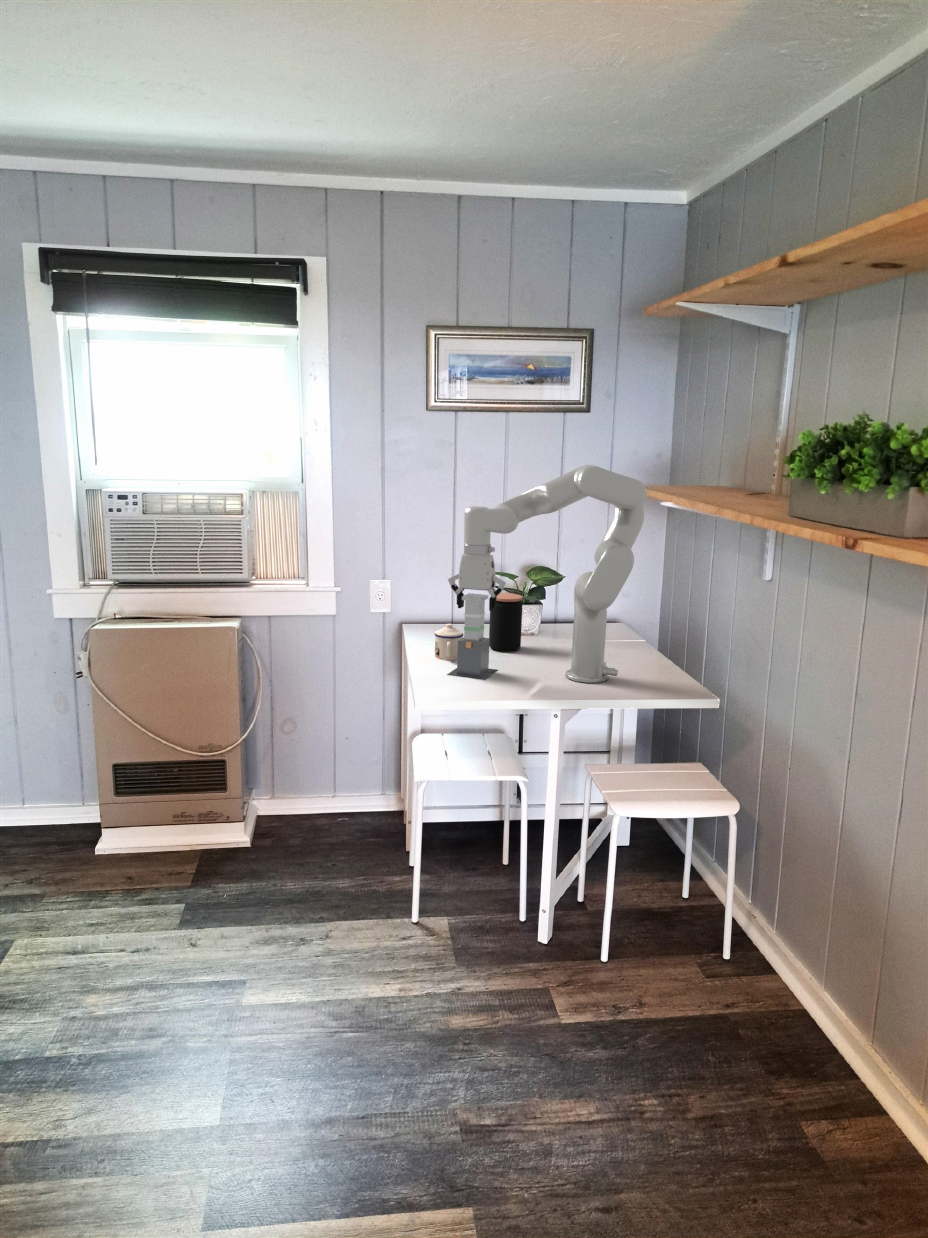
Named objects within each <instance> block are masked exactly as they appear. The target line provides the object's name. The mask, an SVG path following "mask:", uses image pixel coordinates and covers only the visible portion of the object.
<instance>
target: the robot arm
mask: <svg viewBox="0 0 928 1238" xmlns="http://www.w3.org/2000/svg"><path fill="white" fill-rule="evenodd" d="M647 493H648V491H647V488H646V486H645V484H644V483H643V482H642V481H640V480H639V479H637V478H633V477H631V476H627V475H624V474H620V473H617V472H614V471H611V470H609V469H605V468H604V467H600V466H598V465H593V464H584V465H581V466H579V467H577V468H574V469H572V470H571V471H568V472H566V473H564V474H562V475H560V476H558V477H555V478H554V479H552V480H550V481H548V482H545V483H542V484H541V485H538V486H536V487H534V488H532V489H530V490H528V491H525V492H523V493H520V494H518V495H516V496H514V497H512V498H510V499H508V500H505V501H503V502H501V503H499V504H497V505H496V506H495V507H493V508H489V507H486V506H469V507H466V508H465V509H464V515H463V517H464V523H463V529H464V530H463V534H464V535H463V553H462V554H461V558H460V562H459V568H458V574H455V575H453V576H451V577H449V578H448V579H447V581H448V583H449V585H450V588H451V589H452V590H453V592H454V594H455V595H456V605H457V608H458V609H462V608H463V607H464V608H465V600H462V596H464V595H465V594H464V593H463V592H464V591H465V590H471V591H487V593H488V595H490V597H488V600H489V601H488V602H489V603H488V611H489V612H490V611H493V610H495V608H496V601H497V596H498V594H500V593H503V590H504V588H505V586H506V584H507V583H506V581H504V580H503V579H501V578H500V577H498V576H496V566H495V565H496V564H495V559H494V555H493V554H491V553H495V551H496V547H495V546H492V544H491V533H494V534H495V533H496V534H504V535H506V534H507V535H508V534H511V533H512V532H514V531H515V530H516V529H517V528H518V526H519V524H520V523H522V522H524V521H525V520H528V519H531V518H533V517H536V516H540V515H547V514H552V513H555V512H557V511H558V512H559V511H560V510H561V509H564V508H566V507H568V506H570V505H572V504H574V503H577V502H579V501H581V500H584V499H585V498H587V497H590V498H592V499H594V500H598V501H600V502H604V503H607V504H610V505H613V507H614V513H613V518H612V520H611V522H610V525H609V526H608V528H607V531H606V533H605V534H604V535H603V538H602V539H601V541H600V543H599V544H598V546H597V548H596V549H595V551H594V552H595V553H594V562H595V564H596V566H595V568H594V569H593V571H586V572H584V573H582V574H581V575H579V577H578V578H577V579H576V581H575V584H574V586H573V587H574V588H573V602H574V603H573V604H574V606H573V607H574V608H573V609H574V611H573V628H572V629H573V630H572V645H571V663H570V669H567V670H566V671H565V677H566V678H567V679H569V680H571V681H574V682H578V683H589V684H594V683H595V684H596V683H603V682H606V681H607V680H608V679H609V676H612V677H618V674H619V669H616V668H615V667H608V666H607V662H605V651H606V635H607V622H608V621H607V620H608V619H607V617H608V610H607V609H608V608H610V607H611V606H612V605H613V603H614V602H615V601H616V599H617V598H618V596H619V594H620V592H621V591H622V588H623V587H624V586H625V583H626V582H627V580H628V578H629V576H630V575H631V572H632V570H633V568H634V566H635V565H634V564H635V555H634V551H633V550H632V548H633V546H634V544H635V542H636V541H637V538H638V536H639V534H640V532H641V530H642V528H643V524H644V520H645V508H644V503H645V501H646V499H647V496H648V495H647ZM457 580H458V585H457V583H456V582H455V581H457ZM496 584H498V587H497V589H496V588H495V587H496Z"/></svg>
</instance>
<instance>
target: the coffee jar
mask: <svg viewBox="0 0 928 1238" xmlns="http://www.w3.org/2000/svg"><path fill="white" fill-rule="evenodd" d="M522 600H524V599H523V595H521V594H518V593H517V594H516V593H510V592H509V593H508V592H501V593H500V594H498V596H497V601H496V608H495V610H493V611H489V629H488V631H489V633H488V638H490V640H489V649H490V650H492V651H494V652H498V653H513V652H517V651H519V650H520V648H521V647H522V625H523V624H522V623H523V602H522Z"/></svg>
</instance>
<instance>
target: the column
mask: <svg viewBox="0 0 928 1238" xmlns="http://www.w3.org/2000/svg"><path fill="white" fill-rule="evenodd" d="M462 600H464V615H463V616H464V627H463V634H464V635H463V637H464V640H465V641H473V642H480V641H482V640H484V638H485V637H484V636H485V635H484V633H485V632H484V631H485V615H486V612H485V606H486V605H485V602H486V600H489V594H481V593H471V592H468V593H467V594H464V596H462Z"/></svg>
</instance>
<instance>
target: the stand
mask: <svg viewBox="0 0 928 1238" xmlns="http://www.w3.org/2000/svg"><path fill="white" fill-rule="evenodd" d="M489 640H490V638H489V637H484V640H482V641H480V642H473V641H465V640H464V636H463V638H462V639H460V640H458V656H457V660H456V661H457V662H456V665H457V666H456V668H454V669H453V670H452V671H450V672H448V673H447V674H446V676H452V677H458V678H459V677H460V678H467V679H474V680H482V681H486V680H487V679H489V678H490V677H491V676H493V675H494V674H495V673H496V672H498V671H499V669H493V668H489V664H490V663H489V662H490V646H489Z"/></svg>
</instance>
